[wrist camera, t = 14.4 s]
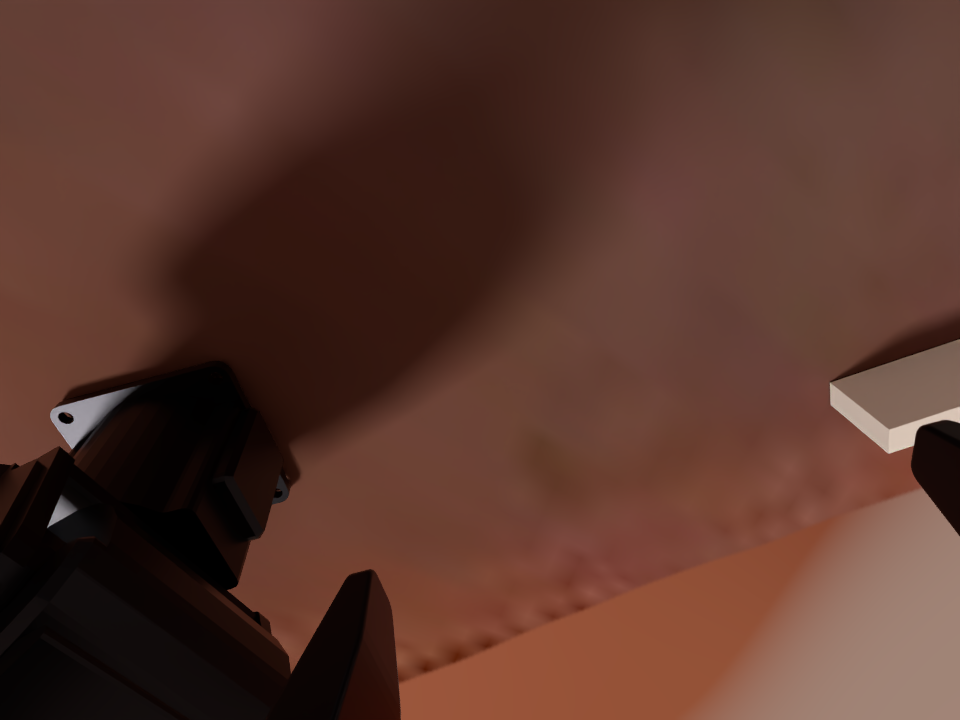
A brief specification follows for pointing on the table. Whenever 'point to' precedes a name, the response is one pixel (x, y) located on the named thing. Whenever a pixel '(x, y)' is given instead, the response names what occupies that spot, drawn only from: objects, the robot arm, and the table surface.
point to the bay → (902, 396)
